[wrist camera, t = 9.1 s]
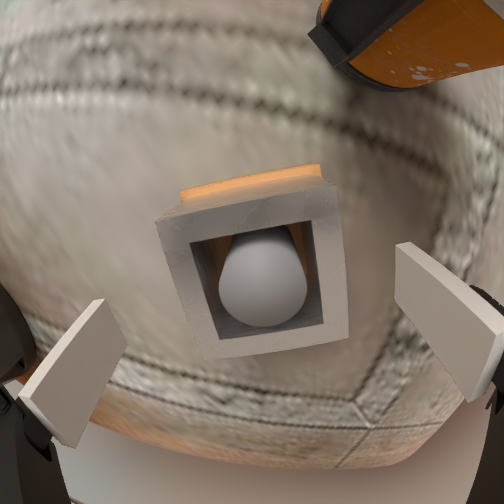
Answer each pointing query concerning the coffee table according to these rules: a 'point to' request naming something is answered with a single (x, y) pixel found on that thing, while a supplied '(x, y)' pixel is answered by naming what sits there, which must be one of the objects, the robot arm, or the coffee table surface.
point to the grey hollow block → (248, 219)
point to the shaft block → (262, 261)
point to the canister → (410, 39)
